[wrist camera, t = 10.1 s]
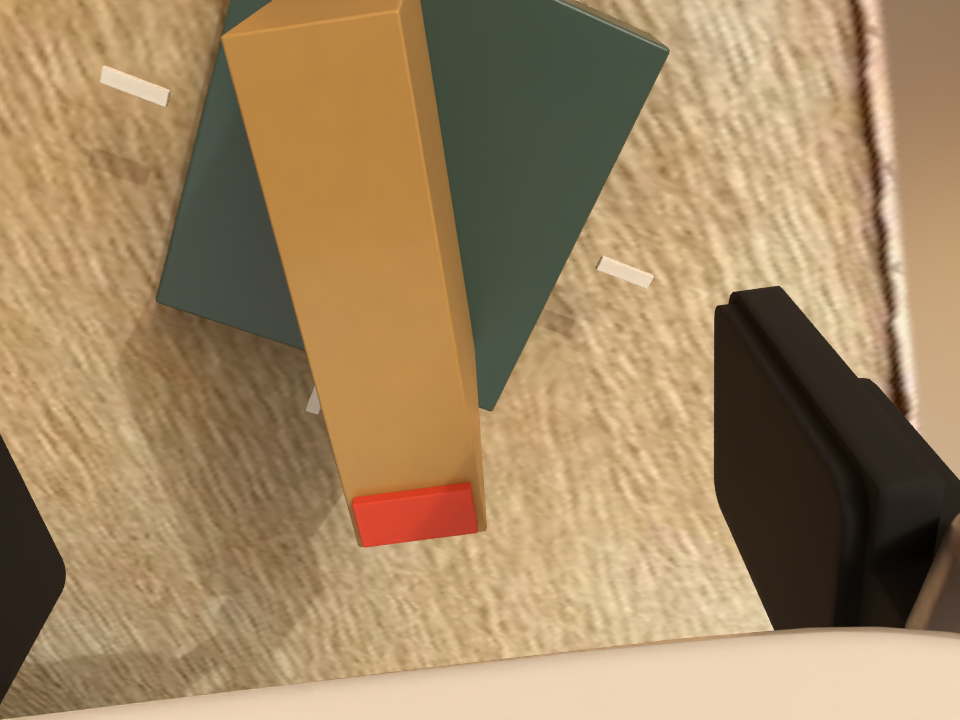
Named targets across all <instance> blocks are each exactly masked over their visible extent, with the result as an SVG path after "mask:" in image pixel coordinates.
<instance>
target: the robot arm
mask: <svg viewBox="0 0 960 720" xmlns="http://www.w3.org/2000/svg"><path fill="white" fill-rule="evenodd" d="M714 484H715V491H716V496H717V500H718V504H719V506H720V509H721V511H722V513H723V516H724V518H725V520H726V522H727V525H728V527H729V529H730V531H731V534H732V536H733V538H734V540H735V543H736V545H737V547H738V550H739V552H740V554H741V556H742V559H743V561H744V563H745V565H746V568H747V570H748V572H749V574H750V577H751V579H752V581H753V583H754V586H755V588H756V590H757V592H758V595H759V597H760V599H761V601H762V604H763V606H764V608H765V610H766V613H767V615H768V617H769V619H770V622H771V624H772V626H773V629H774V631H764V632H752V633H741V634H729V635H717V636H706V637H694V638H682V639H672V640H663V641H654V642H646V643H637V644H628V645H620V646H611V647H603V648H594V649H585V650H577V651H568V652H560V653H551V654H542V655H534V656H525V657H517V658H508V659H499V660H491V661H482V662H473V663H465V664H456V665H448V666H439V667H430V668H422V669H413V670H405V671H397V672H388V673H380V674H372V675H364V676H355V677H347V678H339V679H330V680H322V681H314V682H305V683H297V684H289V685H281V686H272V687H264V688H256V689H247V690H239V691H231V692H222V693H214V694H206V695H197V696H189V697H181V698H172V699H164V700H156V701H147V702H139V703H131V704H123V705H115V706H107V707H99V708H91V709H83V710H75V711H67V712H59V713H50V714H42V715H34V716H26V717H18V718H10V719H1V720H960V480H959V479H958V478H957V477H956V476H955V474H954V473H953V472H952V471H951V470H950V469H949V468H948V466H947V465H946V464H945V463H944V462H943V461H942V460H941V458H940V457H939V456H938V455H937V454H936V453H935V451H934V450H933V449H932V448H931V447H930V446H929V445H928V443H927V442H926V441H925V440H924V439H923V438H922V436H921V435H920V434H919V433H918V432H917V431H916V430H915V428H914V427H913V426H912V425H911V424H910V423H909V422H908V420H907V419H906V418H905V417H904V416H903V415H902V413H901V412H900V411H899V410H898V409H897V408H896V407H895V405H894V404H893V403H892V402H891V401H890V400H889V399H888V397H887V396H886V395H885V394H884V393H883V392H882V390H881V389H880V388H879V387H878V386H877V385H876V384H875V383H874V382H872V381H871V380H870V379H866V378H858V377H857V376H856V375H855V374H854V373H853V371H852V370H851V369H850V368H849V367H848V366H847V364H846V363H845V362H844V361H843V360H842V358H841V357H840V356H839V355H838V354H837V353H836V351H835V350H834V349H833V348H832V347H831V345H830V344H829V343H828V342H827V341H826V339H825V338H824V337H823V336H822V335H821V334H820V332H819V331H818V330H817V329H816V328H815V326H814V325H813V324H812V323H811V322H810V321H809V319H808V318H807V317H806V316H805V315H804V313H803V312H802V311H801V310H800V309H799V308H798V306H797V305H796V304H795V303H794V302H793V300H792V299H791V298H790V297H789V296H788V294H787V293H786V292H785V291H784V290H783V289H782V288H781V287H780V286H774V287H766V288H759V289H752V290H744V291H737V292H732V294H731V295H730V299H729V304H726V305H718V306H717V307H716V309H715V317H714ZM65 580H66V571H65V565H64V562H63V559H62V557H61V555H60V553H59V551H58V549H57V547H56V545H55V543H54V541H53V539H52V537H51V535H50V533H49V531H48V529H47V527H46V525H45V523H44V521H43V519H42V517H41V515H40V513H39V511H38V509H37V507H36V505H35V503H34V501H33V499H32V497H31V495H30V493H29V491H28V489H27V487H26V485H25V483H24V481H23V479H22V477H21V475H20V473H19V471H18V469H17V467H16V465H15V463H14V461H13V459H12V457H11V455H10V453H9V451H8V449H7V447H6V445H5V443H4V441H3V439H2V437H1V435H0V704H1V702H2V700H3V698H4V696H5V695H6V693H7V691H8V689H9V687H10V686H11V684H12V682H13V680H14V678H15V676H16V675H17V673H18V671H19V669H20V667H21V666H22V664H23V662H24V660H25V658H26V656H27V655H28V653H29V651H30V649H31V647H32V645H33V644H34V642H35V640H36V638H37V636H38V635H39V633H40V631H41V629H42V627H43V625H44V624H45V622H46V620H47V618H48V616H49V615H50V613H51V611H52V609H53V607H54V605H55V604H56V602H57V600H58V598H59V596H60V594H61V593H62V591H63V588H64V585H65Z"/></svg>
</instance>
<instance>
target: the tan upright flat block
mask: <svg viewBox="0 0 960 720" xmlns="http://www.w3.org/2000/svg"><path fill="white" fill-rule="evenodd" d="M221 42H222V45H223V49H224V53H225V56H226V60H227V64H228V67H229V71H230V75H231V78H232V82H233V86H234V89H235V93H236V97H237V101H238V104H239V108H240V112H241V115H242V119H243V123H244V126H245V130H246V134H247V137H248V141H249V145H250V148H251V152H252V156H253V159H254V163H255V167H256V171H257V174H258V178H259V182H260V185H261V189H262V193H263V196H264V200H265V204H266V207H267V211H268V215H269V218H270V222H271V226H272V230H273V233H274V237H275V241H276V244H277V248H278V252H279V255H280V259H281V263H282V266H283V270H284V274H285V277H286V281H287V285H288V289H289V292H290V296H291V300H292V303H293V307H294V311H295V314H296V318H297V322H298V325H299V329H300V333H301V336H302V340H303V344H304V348H305V351H306V355H307V359H308V362H309V366H310V370H311V373H312V377H313V381H314V384H315V388H316V392H317V395H318V399H319V403H320V407H321V410H322V414H323V418H324V421H325V425H326V429H327V432H328V436H329V440H330V443H331V447H332V451H333V454H334V458H335V462H336V465H337V469H338V473H339V477H340V480H341V484H342V488H343V491H344V495H345V499H346V502H347V506H348V510H349V513H350V517H351V521H352V524H353V528H354V532H355V536H356V539H357V543H358V546H359V547H371V546H379V545H387V544H395V543H402V542H410V541H418V540H426V539H433V538H441V537H449V536H457V535H465V534H472V533H477V532H481V531H486V529H487V523H486V508H485V493H484V478H483V464H482V449H481V434H480V420H479V405H478V390H477V375H476V361H475V347H474V340H473V334H472V327H471V321H470V315H469V308H468V302H467V295H466V289H465V283H464V276H463V270H462V264H461V257H460V251H459V244H458V238H457V232H456V225H455V219H454V212H453V206H452V200H451V193H450V187H449V180H448V174H447V168H446V161H445V155H444V148H443V142H442V136H441V129H440V123H439V116H438V110H437V104H436V97H435V91H434V85H433V78H432V72H431V65H430V59H429V53H428V46H427V40H426V33H425V27H424V21H423V14H422V8H421V1H420V0H272V1H271V2H269V3H268V4H267V5H265V6H264V7H262V8H261V9H259V10H258V11H257V12H255V13H254V14H252V15H251V16H250V17H248V18H247V19H245V20H244V21H242V22H241V23H240V24H238V25H237V26H235V27H234V28H233V29H231V30H230V31H228V32H227V33H225V34H224V35H223V36H221Z"/></svg>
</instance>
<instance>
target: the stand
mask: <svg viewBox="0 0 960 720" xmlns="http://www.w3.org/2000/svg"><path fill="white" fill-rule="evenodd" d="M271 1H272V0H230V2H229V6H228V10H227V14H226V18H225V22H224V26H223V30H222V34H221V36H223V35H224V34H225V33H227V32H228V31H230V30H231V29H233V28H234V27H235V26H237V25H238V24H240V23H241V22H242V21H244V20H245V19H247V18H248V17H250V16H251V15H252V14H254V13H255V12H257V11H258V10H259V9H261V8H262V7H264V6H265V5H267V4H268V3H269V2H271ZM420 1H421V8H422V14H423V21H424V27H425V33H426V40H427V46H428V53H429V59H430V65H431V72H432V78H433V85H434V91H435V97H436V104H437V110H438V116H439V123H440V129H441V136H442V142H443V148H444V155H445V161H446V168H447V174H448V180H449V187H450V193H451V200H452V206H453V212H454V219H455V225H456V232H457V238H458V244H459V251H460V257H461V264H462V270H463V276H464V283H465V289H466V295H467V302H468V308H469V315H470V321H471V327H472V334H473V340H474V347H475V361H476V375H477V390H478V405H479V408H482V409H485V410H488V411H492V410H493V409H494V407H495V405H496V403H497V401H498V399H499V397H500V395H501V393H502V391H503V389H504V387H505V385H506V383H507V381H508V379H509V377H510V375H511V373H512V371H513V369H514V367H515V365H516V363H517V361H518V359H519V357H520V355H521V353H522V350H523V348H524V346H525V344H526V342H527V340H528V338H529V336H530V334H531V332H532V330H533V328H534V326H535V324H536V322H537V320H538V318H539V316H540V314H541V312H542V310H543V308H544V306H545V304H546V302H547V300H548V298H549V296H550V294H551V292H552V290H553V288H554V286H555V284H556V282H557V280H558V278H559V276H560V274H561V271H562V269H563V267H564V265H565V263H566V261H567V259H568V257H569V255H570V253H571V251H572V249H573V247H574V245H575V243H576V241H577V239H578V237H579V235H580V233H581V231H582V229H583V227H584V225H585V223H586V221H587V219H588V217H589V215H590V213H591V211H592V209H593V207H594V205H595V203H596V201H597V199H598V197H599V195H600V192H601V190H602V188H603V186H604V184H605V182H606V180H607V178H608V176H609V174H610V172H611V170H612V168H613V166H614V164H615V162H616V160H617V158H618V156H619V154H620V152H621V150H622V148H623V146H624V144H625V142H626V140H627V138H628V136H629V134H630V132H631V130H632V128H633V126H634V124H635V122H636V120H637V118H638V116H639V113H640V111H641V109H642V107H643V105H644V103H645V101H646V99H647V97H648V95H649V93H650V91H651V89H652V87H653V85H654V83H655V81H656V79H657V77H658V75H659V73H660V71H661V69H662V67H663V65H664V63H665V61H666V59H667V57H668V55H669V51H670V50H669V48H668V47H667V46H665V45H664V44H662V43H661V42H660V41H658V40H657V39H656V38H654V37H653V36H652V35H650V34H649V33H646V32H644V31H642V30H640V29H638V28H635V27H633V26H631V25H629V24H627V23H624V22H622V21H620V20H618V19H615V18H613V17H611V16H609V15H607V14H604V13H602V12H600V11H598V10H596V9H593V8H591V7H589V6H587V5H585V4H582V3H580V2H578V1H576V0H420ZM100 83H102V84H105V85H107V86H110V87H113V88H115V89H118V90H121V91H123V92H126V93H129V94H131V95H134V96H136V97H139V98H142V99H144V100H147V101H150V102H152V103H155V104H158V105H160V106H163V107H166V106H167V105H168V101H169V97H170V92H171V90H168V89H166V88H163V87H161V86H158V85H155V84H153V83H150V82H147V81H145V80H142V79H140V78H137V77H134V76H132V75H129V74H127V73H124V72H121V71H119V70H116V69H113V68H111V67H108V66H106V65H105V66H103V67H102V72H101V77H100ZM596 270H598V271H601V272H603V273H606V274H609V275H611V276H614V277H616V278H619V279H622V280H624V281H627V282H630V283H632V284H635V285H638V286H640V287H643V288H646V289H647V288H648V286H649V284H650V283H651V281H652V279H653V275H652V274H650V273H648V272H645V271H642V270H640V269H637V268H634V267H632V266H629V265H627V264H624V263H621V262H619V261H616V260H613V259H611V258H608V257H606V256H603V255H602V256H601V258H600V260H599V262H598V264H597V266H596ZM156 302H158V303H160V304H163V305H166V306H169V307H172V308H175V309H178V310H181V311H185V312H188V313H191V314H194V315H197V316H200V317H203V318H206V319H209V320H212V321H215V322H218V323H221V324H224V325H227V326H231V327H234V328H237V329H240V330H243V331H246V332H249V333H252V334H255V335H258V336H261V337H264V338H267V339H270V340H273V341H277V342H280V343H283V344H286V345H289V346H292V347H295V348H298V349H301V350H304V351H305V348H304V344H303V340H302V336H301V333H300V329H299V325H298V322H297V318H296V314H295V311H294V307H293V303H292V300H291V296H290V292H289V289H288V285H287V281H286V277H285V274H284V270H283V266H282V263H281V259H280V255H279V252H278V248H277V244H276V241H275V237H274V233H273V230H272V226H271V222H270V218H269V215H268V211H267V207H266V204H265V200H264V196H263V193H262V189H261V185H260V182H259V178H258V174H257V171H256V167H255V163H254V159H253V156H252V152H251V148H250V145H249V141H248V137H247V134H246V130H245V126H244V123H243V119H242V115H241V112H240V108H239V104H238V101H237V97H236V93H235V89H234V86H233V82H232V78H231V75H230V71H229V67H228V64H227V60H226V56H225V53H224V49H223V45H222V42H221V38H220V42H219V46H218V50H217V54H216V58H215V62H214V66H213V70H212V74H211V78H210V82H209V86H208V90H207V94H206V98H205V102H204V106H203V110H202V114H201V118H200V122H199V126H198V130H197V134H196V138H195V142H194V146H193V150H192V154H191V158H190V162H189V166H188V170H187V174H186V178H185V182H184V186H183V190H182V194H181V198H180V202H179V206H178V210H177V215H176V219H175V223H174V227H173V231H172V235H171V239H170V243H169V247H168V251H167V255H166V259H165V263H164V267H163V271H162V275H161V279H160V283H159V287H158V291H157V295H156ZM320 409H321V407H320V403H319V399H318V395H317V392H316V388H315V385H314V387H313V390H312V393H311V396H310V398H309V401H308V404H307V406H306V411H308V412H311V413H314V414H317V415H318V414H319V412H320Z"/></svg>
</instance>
